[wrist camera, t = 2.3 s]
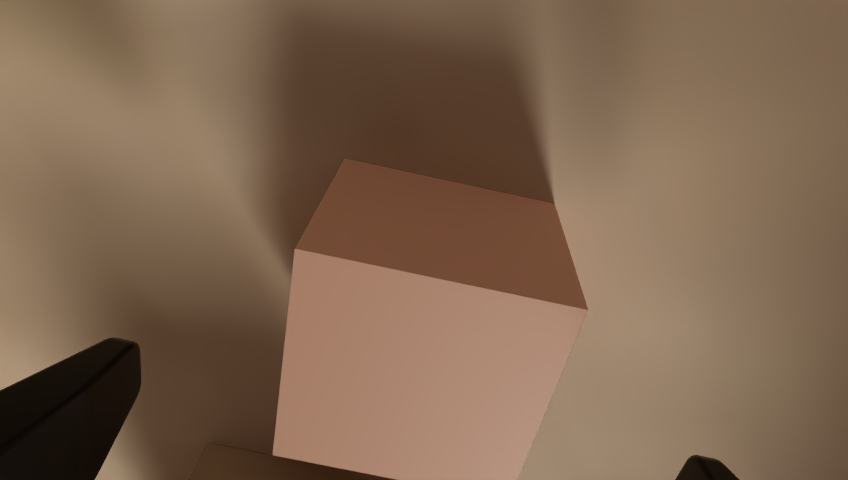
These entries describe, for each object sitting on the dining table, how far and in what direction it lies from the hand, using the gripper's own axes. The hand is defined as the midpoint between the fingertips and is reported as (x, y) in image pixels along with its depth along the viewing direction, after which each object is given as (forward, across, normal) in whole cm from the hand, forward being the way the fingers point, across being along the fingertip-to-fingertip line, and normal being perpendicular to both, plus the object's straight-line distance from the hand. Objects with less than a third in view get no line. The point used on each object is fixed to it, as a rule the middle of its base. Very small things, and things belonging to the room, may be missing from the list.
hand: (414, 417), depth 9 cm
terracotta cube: (+4, 0, 0) cm, 5 cm away
